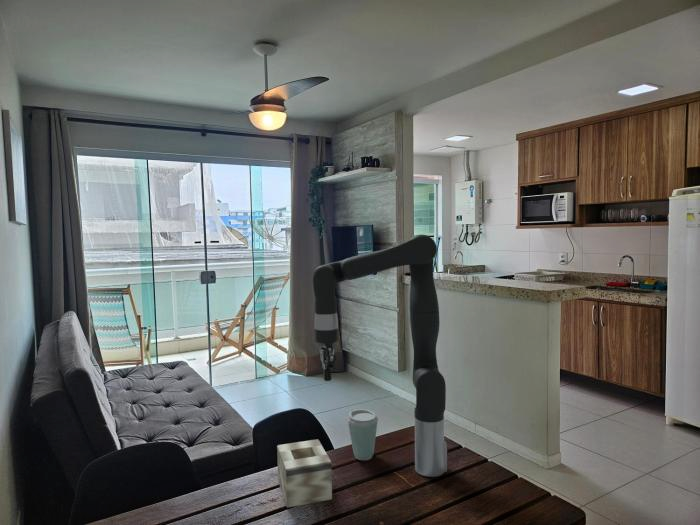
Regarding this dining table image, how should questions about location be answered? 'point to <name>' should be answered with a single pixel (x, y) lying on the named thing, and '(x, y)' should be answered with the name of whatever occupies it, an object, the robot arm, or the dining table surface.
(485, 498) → the dining table surface
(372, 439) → the disposable coffee cup
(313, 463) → the socket block
